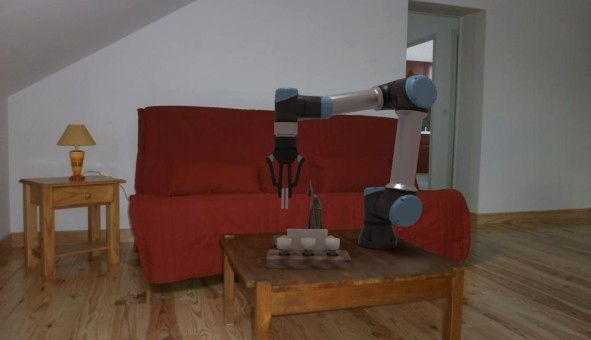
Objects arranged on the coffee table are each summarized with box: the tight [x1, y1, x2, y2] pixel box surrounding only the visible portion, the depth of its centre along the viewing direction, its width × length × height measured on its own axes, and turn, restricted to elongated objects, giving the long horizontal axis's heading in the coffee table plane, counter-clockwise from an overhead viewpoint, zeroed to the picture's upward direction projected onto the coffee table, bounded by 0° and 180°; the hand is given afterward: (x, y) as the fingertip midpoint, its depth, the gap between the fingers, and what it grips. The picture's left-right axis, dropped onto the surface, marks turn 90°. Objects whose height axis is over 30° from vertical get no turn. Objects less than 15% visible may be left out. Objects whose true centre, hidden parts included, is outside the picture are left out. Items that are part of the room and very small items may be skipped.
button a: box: [325, 237, 341, 256], centre depth 141 cm, size 5×5×6 cm
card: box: [280, 228, 335, 250], centre depth 147 cm, size 19×1×10 cm, turn 91°
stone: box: [272, 234, 282, 246], centre depth 163 cm, size 9×11×5 cm
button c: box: [276, 237, 291, 256], centre depth 141 cm, size 5×5×6 cm
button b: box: [301, 237, 316, 256], centre depth 141 cm, size 5×5×6 cm
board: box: [265, 248, 352, 270], centre depth 141 cm, size 27×12×3 cm, turn 91°
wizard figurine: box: [306, 178, 324, 229], centre depth 178 cm, size 10×8×25 cm
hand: (284, 207), depth 140 cm, fingers closed
